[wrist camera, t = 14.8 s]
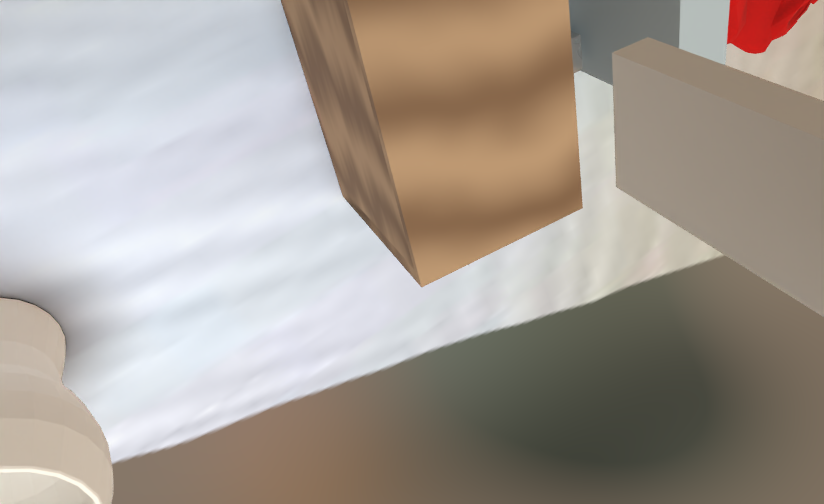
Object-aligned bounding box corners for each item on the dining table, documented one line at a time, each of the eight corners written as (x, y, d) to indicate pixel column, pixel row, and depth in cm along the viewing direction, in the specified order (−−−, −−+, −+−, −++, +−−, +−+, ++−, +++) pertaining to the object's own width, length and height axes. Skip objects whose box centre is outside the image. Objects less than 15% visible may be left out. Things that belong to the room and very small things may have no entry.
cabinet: (242, -121, 37) (322, -95, 27) (427, -179, 39) (557, -172, 30) (343, 196, 49) (421, 287, 40) (479, 136, 51) (582, 208, 42)
